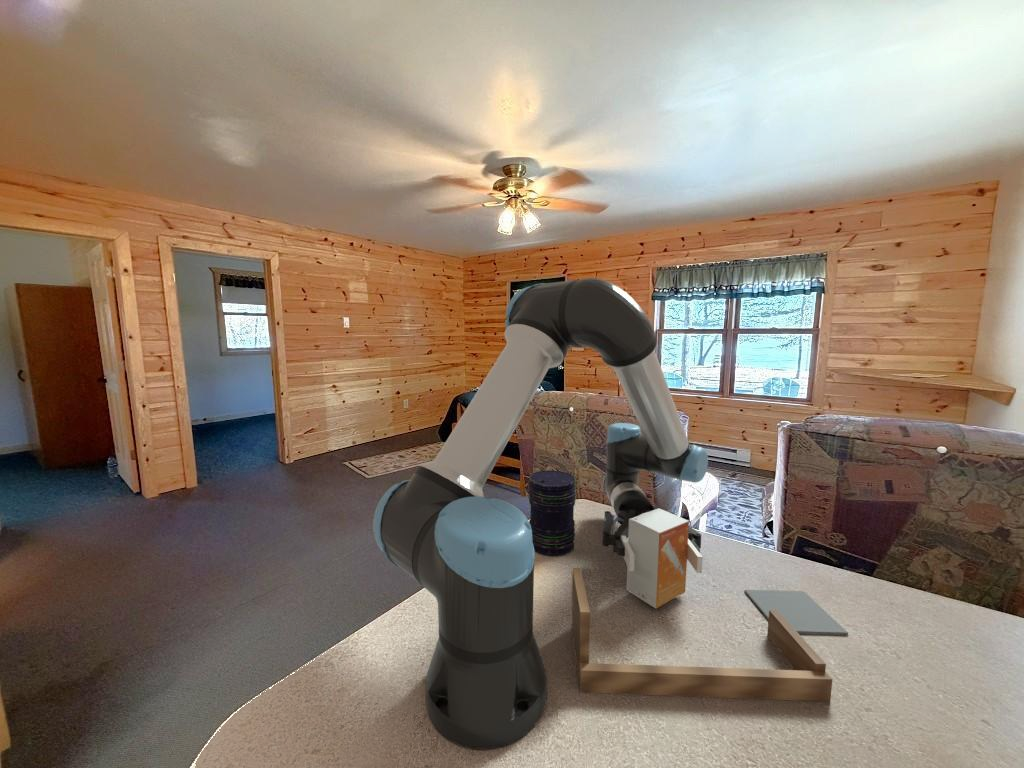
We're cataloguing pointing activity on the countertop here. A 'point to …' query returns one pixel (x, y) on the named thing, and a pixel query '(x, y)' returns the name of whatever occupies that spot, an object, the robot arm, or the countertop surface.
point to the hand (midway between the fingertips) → (665, 564)
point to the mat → (796, 611)
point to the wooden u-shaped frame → (702, 681)
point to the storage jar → (552, 512)
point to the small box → (658, 556)
